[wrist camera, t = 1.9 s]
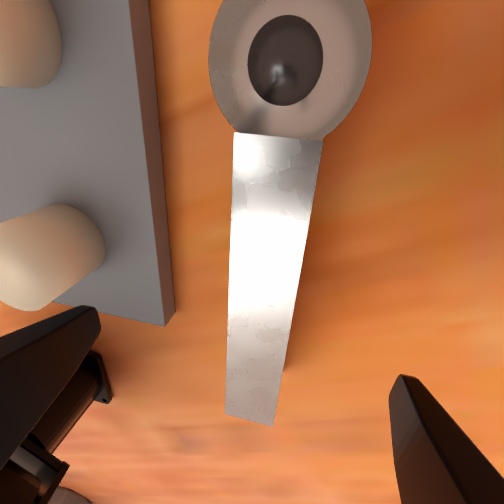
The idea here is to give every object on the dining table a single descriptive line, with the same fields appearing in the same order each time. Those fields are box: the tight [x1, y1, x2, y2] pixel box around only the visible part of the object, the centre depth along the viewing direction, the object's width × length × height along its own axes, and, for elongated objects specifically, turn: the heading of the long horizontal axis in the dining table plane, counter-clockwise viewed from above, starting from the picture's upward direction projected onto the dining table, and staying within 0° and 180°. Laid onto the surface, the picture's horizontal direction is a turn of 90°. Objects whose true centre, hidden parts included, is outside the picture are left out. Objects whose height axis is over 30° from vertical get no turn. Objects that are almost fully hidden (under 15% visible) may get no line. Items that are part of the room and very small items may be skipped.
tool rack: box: [0, 0, 175, 327], centre depth 13 cm, size 21×11×6 cm, turn 176°
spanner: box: [208, 0, 372, 427], centre depth 14 cm, size 20×5×4 cm, turn 176°
